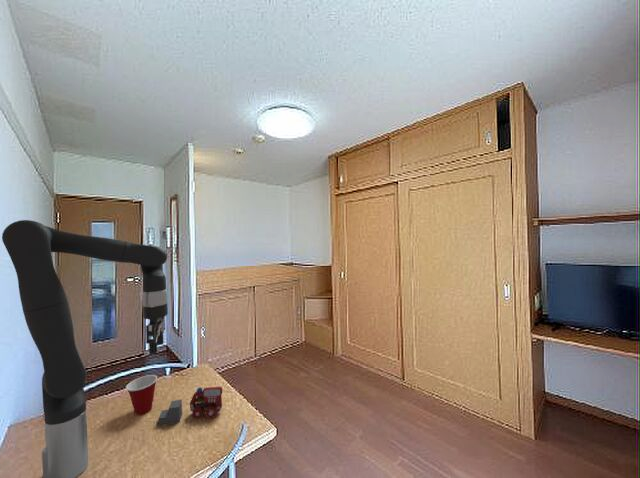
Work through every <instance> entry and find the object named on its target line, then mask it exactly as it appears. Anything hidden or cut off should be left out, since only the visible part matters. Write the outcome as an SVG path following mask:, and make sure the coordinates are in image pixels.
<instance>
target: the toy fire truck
mask: <svg viewBox="0 0 640 478" xmlns="http://www.w3.org/2000/svg"><path fill="white" fill-rule="evenodd" d="M192 395H193V396H192V398H190V399H191V400H190V402H189V408H190V412H192V417H193V419H196V420H197V419H198V420H199V419H201V418H202V417H203V416H204V414H205V416H206V418H207V419H214V418H215V417H216V416H217V413H218V411H220V410H221V409H222V407H223V400H222V395H223V387H222V386H211V387H204V388H202V387H198V388H197V389H196V391H195V392H194V393H193V394H192Z"/></svg>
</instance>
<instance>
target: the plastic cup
mask: <svg viewBox="0 0 640 478" xmlns="http://www.w3.org/2000/svg"><path fill="white" fill-rule="evenodd" d="M157 379H158V376H157V375H155V374H148V375H144V376H140V377H138V378H135V379H133V380H132V381H130V382H129V383H128V384H126V385H125V390H126V391H128V394H129V397H130V401H131V404H132V407H133V411H134V413H135V415H137V416H142V415H145V414H148V413H149V412H150V411H152V408H153V402H154V397H155V390H156V385H157V381H158V380H157Z"/></svg>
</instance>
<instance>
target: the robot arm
mask: <svg viewBox="0 0 640 478" xmlns="http://www.w3.org/2000/svg"><path fill="white" fill-rule="evenodd" d="M1 240H2V243H3V245H4V247H5V250H6V251H7V253H8V255H9V257H10V261H11V263H12V264H13V265H12V266H13V267H14V270H15V273H16V277H17V283H18V292H19V293H18V294H19V298H20V303H21V307H22V308H21V309H22V312H23V313H22V314H23V317H24V319H25V323H26V326H27V329H28V331H29V333H30V334H29V335H31V337H32V340H33V342H34V344H35V346H36V349H37V350H38V352H39V355H40V357H41V360H42V366H43V374H42V377H41V378H42V379H41V387H42V388H41V390H42V409H43V418H44V432H45V433H44V435H45V447H44V448H43V449H42V450H41V461H42V464H41V466H42V478H77V477H78V476H80V475H81V474H82V473H83V472H84V471H86V470H87V468H88V466H89V448H88V447H89V446H88V444H89V441H88V422H87V421H88V419H87V399H86V396H85V388H84V387H85V386H84V385H85V384H86V380H87V375H88V373H87V370H86V367H85V365H84V363H83V362H82V359H81V357H80V353H79V351H78V349H77V345H76V340H75V332H74V324H73V318H72V313H71V309H70V306H69V305H70V304H69V301H68V297H67V294H66V292H65V288H64V286H63V284H62V281H61V280H60V277H59V275H58V273H57V272H56V269H55V266H54V261H53V253H59V254H70V255H76V256H80V257H86V258H91V259H96V260H101V261H109V262H114V263H115V262H116V263H122V264H123V263H125V264H127V263H128V264H129V263H130V264H135V265H140V267H141V269H140V270H141V273H142V317H143V319H145V320H149V323H148V325H145V339H146V340H145V343H146V345H147V344H148V347H149V349H148V352H149V355H156V354H157V353H158V346H162V345H163V344H164V333H165V330H166V321H165V319H166V318H165V317H166V316H168V314H169V312H168V310H169V309H168V306H169V305H168V293H167V279H166V275H165V273H164V269H163V268H164V267H163V265H164V264H165V263H166V262H167V260H168V254H167V251H166V250H165V249H164V248H163V247H160V246H155V245H147V244H139V243H134V242H130V241H125V240H120V239H115V238H108V237H101V236H100V237H99V236H93V235H91V236H90V235H86V234H85V235H83V234H78V233H72V232H67V231H62V230H59V229H57V228H54V227H50V226H46V225H44V224H42V223H41V222H38V221H35V220H30V219H29V220H28V219H21V220H17V221H14V222H11V223H10V224H8V225H7V226H6V227H5V229H4V230H3V231H2V235H1Z"/></svg>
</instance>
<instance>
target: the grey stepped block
mask: <svg viewBox="0 0 640 478" xmlns="http://www.w3.org/2000/svg"><path fill="white" fill-rule="evenodd" d="M182 415H183V403H182V399H177V400H172V401H171V402H170V404H169V407H168V409H162V410H161V412H160V414H159V417H158V427H162V425H163V426H168V425H173V424H178V423H177V422H179V423H180V422H181V420H182V419H181V418H182ZM172 423H173V424H172Z"/></svg>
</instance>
